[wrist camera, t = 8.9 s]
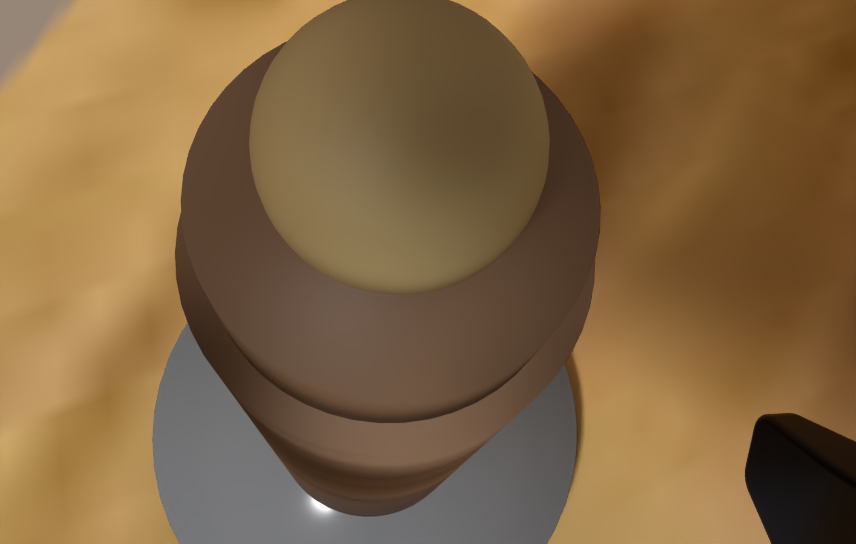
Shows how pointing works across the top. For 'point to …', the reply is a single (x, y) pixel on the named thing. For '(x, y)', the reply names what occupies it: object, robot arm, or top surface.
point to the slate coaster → (326, 528)
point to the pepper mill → (386, 245)
